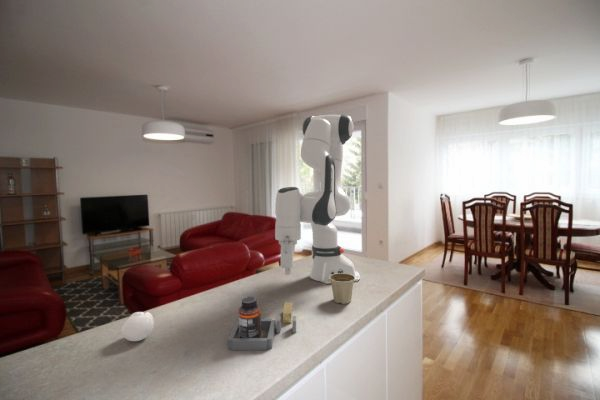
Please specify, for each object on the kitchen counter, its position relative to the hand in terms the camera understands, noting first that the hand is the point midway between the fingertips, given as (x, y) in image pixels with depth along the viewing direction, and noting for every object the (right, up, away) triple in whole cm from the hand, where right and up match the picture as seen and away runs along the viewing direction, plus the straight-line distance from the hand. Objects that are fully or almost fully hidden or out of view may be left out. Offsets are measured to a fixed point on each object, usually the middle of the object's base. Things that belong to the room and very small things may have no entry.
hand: (287, 273), depth 97 cm
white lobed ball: (-41, -14, -19) cm, 47 cm away
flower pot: (+20, -11, +4) cm, 23 cm away
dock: (-6, -13, -20) cm, 24 cm away
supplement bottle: (-9, -13, -20) cm, 26 cm away
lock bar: (0, -12, -8) cm, 14 cm away
